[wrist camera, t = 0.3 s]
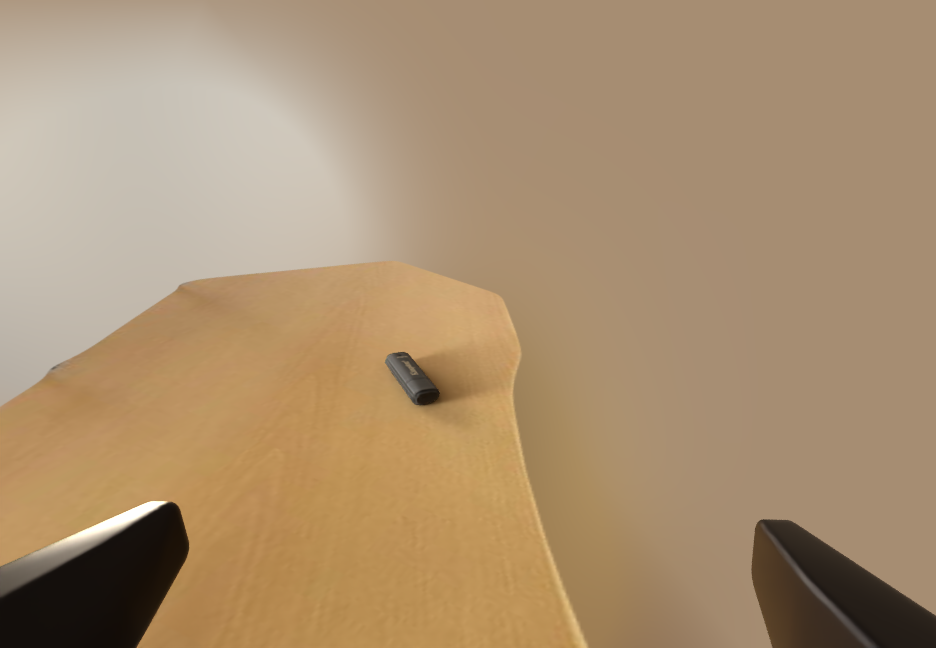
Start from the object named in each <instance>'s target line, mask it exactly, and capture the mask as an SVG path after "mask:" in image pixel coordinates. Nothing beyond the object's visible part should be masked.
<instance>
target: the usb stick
mask: <svg viewBox="0 0 936 648" xmlns="http://www.w3.org/2000/svg"><path fill="white" fill-rule="evenodd" d="M385 363H386V365H387V366H388V368H389V369H390V371H391V372H392V373H393V375H394V376H395V378H396V379H397V381H398V382H399V383H400V385H401V386H402V388H403V389H404V391H405V392H406V394H407V395H408V396H409V398H410V399H411V400H412V402H413V403H414V404H415V405H425V404H428V403H431V402H433V401H435V400H436V399H438V397H439V394H440V392H439V390H438V389H437V388H436V386H435V385H434V384H433V383H432V382H431V381H430V379H429V378H428V377H427V376H426V375H425V373H424V372H423V371H422V370H421V369H420V368H419V366H418V365H417V364H416V363H415V361H414V360H413V359H412V358H411V357H410V355H409V354H408V353H405V352H398V353H392V354H390V355H388V356H387V358H386V360H385Z"/></svg>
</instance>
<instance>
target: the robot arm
mask: <svg viewBox="0 0 936 648" xmlns="http://www.w3.org/2000/svg"><path fill="white" fill-rule="evenodd" d="M188 551H189V540H188V537H187V533H186V529H185V526H184V522H183V519H182V515H181V511H180V509H179V507H178V506H177V505H176V504H175V503H173V502H161V501H152V502H148V503H145V504H143V505H141V506H139V507H136V508H134V509H132V510H129V511H127V512H125V513H122V514H120V515H118V516H116V517H113V518H111V519H109V520H106V521H104V522H102V523H100V524H97V525H95V526H93V527H90V528H88V529H86V530H83V531H81V532H79V533H77V534H74V535H72V536H70V537H67V538H65V539H63V540H60V541H58V542H56V543H54V544H51V545H49V546H47V547H44V548H42V549H40V550H37V551H35V552H33V553H31V554H28V555H26V556H24V557H21V558H19V559H17V560H15V561H12V562H10V563H8V564H5V565H3V566H1V567H0V648H136V647H137V645H138V644H139V642H140V640H141V639H142V637H143V635H144V634H145V632H146V630H147V628H148V626H149V625H150V623H151V621H152V619H153V617H154V616H155V614H156V612H157V610H158V608H159V607H160V605H161V603H162V601H163V600H164V598H165V596H166V594H167V592H168V591H169V589H170V587H171V585H172V583H173V582H174V580H175V578H176V576H177V574H178V573H179V571H180V569H181V567H182V566H183V564H184V562H185V560H186V558H187V555H188ZM752 580H753V585H754V588H755V592H756V595H757V598H758V601H759V605H760V608H761V611H762V614H763V618H764V621H765V624H766V627H767V631H768V634H769V637H770V640H771V644H772V647H773V648H936V616H935V615H934V614H932V613H931V612H929V611H928V610H926V609H925V608H923V607H922V606H920V605H918V604H917V603H915V602H914V601H912V600H911V599H909V598H908V597H906V596H905V595H903V594H902V593H900V592H899V591H897V590H896V589H894V588H892V587H891V586H890V585H888V584H887V583H885V582H884V581H882V580H880V579H879V578H877V577H876V576H874V575H873V574H871V573H870V572H868V571H867V570H865V569H864V568H862V567H861V566H859V565H858V564H856V563H855V562H853V561H852V560H850V559H849V558H847V557H846V556H844V555H843V554H841V553H839V552H838V551H836V550H835V549H833V548H832V547H830V546H829V545H827V544H826V543H824V542H823V541H821V540H820V539H818V538H817V537H815V536H814V535H812V534H811V533H809V532H808V531H806V530H805V529H803V528H802V527H800V526H799V525H797V524H795V523H793V522H792V521H789V520H764V519H763V520H760V521H759V522H758V523H757V525H756V528H755V536H754V547H753V558H752Z"/></svg>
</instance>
